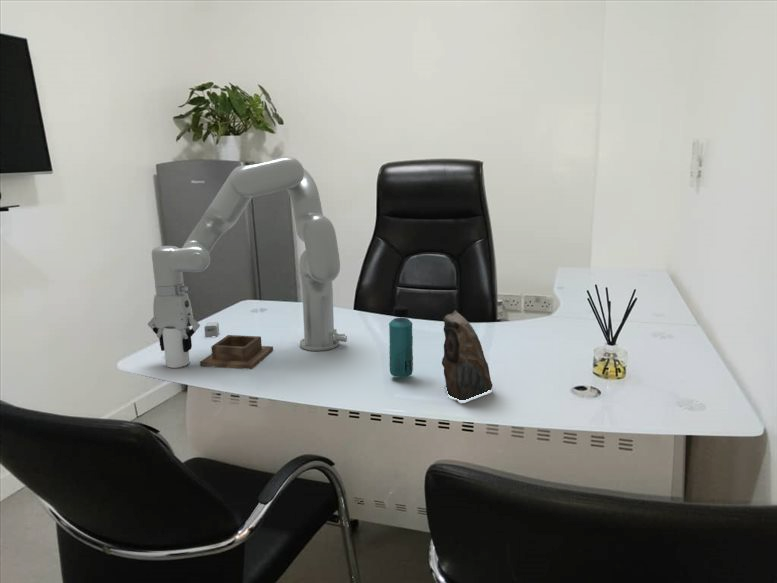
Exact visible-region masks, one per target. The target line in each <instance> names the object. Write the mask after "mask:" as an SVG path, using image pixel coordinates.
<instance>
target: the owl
mask: <svg viewBox="0 0 777 583" xmlns="http://www.w3.org/2000/svg"><path fill="white" fill-rule="evenodd" d="M442 321H443V322H444V323H443V324H444V326H443V333H444V337H445V339H444V342H443V357H442V359H441V364H442V366H443V375H444V380H445V386H446V387H447V390H446V391H448V394H449V395H450V396H452V397H454V398H457V399H459V400H466V399H469V398H471V397H474V396H476V395H479V394H482V393H484V392H487V391H488V390H491V389H492V390H493V382H492V379H491V374H490V367H489V364H488V362H487V359H486V357H485V354H484V350H483V346H482V343H481V341H480V339H479V336H478V334H477V333H476V331H475V329H474V328H473V326H472V324H471V323H470V322H469V321H468V320H467V319H466V318H465V317H464V316H463V315H462V314H460V313H459V312H458V311H457V310H453V311H452V313H449V314H448V313H447V314H446V315H445V316H444V317H443V319H442ZM448 394H447V395H448Z"/></svg>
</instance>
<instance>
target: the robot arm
mask: <svg viewBox="0 0 777 583" xmlns="http://www.w3.org/2000/svg"><path fill="white" fill-rule="evenodd" d="M285 190H286V191H287V193H288V195H289V197H290V201H291V206H292V210H293V216H294V223H295V232H296V234H297V236H298V238H299V240H300V241H302V242H303V243H304V245H305V250H304V251H303V252H302V253H301V255H300V257H299V261H298V262H299V265H298V266H299V274H300V280H301V281H300V283H301V294H302V313H303V336H304V337H303V338H302V339H301V340H300V341H299V347H300V348H302V349H303V350H307V351H313V352H319V351H320V352H321V351H327V350H332V349H335V348H337V347H338V346H339V345H340V342H343V343H346V342H348V336H347V335H346V334H345V333H338V332H337V331H338V330H337V328H336V329H335V324H334V323H335V322H334V320H335V319H334V290H333V281H335V280H336V278H337V277H338V276H339V273H340V269H341V260H340V253H339V247H338V239H337V234H336V228H335V226H334V224H333V223H332V221H331V220H330V219H329V218H328V217H326V216H325V215H324V213H323V208H322V202H321V199H320V193H319V189H318V187H317V184H316V182H315V180H314V178H313V177H312V175H311V174H310V173H309V172H308V170H306V169H305V167H304V166H303V165H302V163H301V162H300V161H299V160H298V159H297V158H295V157H292V156H279V157H276V158H273V159H272V160H269V161H266V162H265V161H264V162H261V163H256V164H255V163H254V164H248V165H247V164H246V165H238V166H236V167H235V168H233V170H232V171H231V172H230V174H229V175H228V176H227V179H226V180H225V181H224V183H223V185H222V186H221V188H220V189H219V191H218V192H217V194H216V196H215V197H214V198H213V200H212V202H211V203H210V204H209V206H208V208H207V209H206V210H205V212H204V213H203V215H202V217H201V219H199V221H198V223H197V224H196V226H195V227H194V228H193V230H192V232H191V233H190V234H189V236H188V238H187V239H186V240H185V242H184V244H183V246H182V247H178V246H175V245H160V246H157V247H154V248H152V250H151V261H152V270H153V279H154V287H155V288H154V289H155V294H154V298H153V308H152V309H153V317H152V318H151V319H150V321H148V323H147V326H148V327H149V328H150V329H151V330H152V331H153V333H154V334H156V337H157V338H159V339H158V341H159V346H160V351H162V352H165V351H164V342H163V329H164V327H165V328H176V329H178V330H180V331H181V333H182V335H183V336H184V339H183V340H182V341H183V350H184V352H187V351H189V352H190V350H191V349H192V347H193V343H192V336H193V335H194V334H195V333H196V331H198V329H199V328H200V327H201V324H200V323H199V322H198V321H197V320H195V319H194V313H193V308H192V303H191V300H190V297H189V295H188V293H187V292H188V290H189V287H188V286H185V283H184V274H183V272H184V273H187V272H188V273H199V272H203V271H204V270H207V268H208V267H209V266H210V264H211V252H212V251H213V249H214V246H216V244H217V242H218V241H219V239H221V237H222V236H223V235H224V234H225V233H226V232H227V231H229V230H230V229H231V228H232V227H234V226H235V225H236V224H237V222H238V221H239V219H240V217H242V216H241V215H242V214H243V212H244V211H245V209H247V206H248V205H249V203H250V202H251V201H252V199H253V198H254V197H259V196H264V195H268V194H273V193H277V192H281V191H285ZM190 326H192V327H191V328H190ZM185 329H186V330H185Z"/></svg>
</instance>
